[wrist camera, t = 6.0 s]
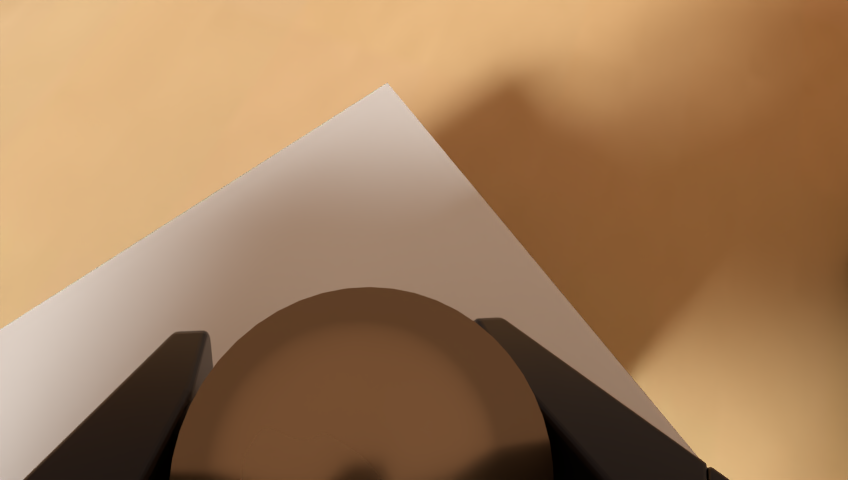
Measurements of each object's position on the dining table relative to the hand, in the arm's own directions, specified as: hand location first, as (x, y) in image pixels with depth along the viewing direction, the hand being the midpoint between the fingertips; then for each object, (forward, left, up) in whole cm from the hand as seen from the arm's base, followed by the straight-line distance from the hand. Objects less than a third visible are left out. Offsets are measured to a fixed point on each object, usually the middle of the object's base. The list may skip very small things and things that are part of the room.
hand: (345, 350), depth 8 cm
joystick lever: (-1, +1, -8) cm, 8 cm away
